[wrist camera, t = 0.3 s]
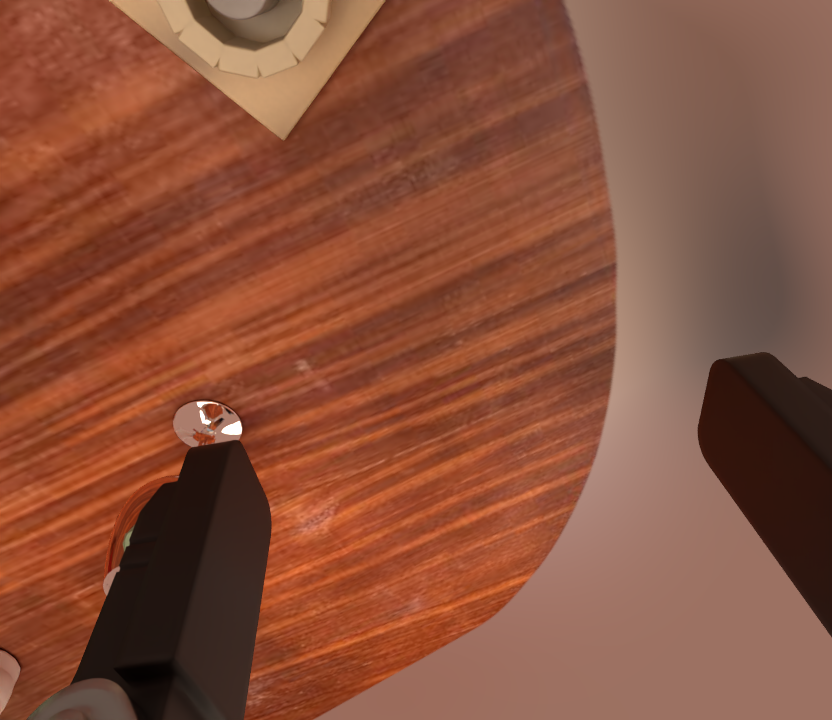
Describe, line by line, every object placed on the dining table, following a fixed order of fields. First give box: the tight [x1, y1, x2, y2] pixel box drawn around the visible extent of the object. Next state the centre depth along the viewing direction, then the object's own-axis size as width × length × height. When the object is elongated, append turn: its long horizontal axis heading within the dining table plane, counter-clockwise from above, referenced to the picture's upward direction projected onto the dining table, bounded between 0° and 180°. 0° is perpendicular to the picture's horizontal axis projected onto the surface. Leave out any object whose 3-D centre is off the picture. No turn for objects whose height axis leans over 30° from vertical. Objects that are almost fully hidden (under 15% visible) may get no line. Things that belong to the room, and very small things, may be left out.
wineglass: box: [103, 400, 243, 595], centre depth 32 cm, size 6×6×12 cm
